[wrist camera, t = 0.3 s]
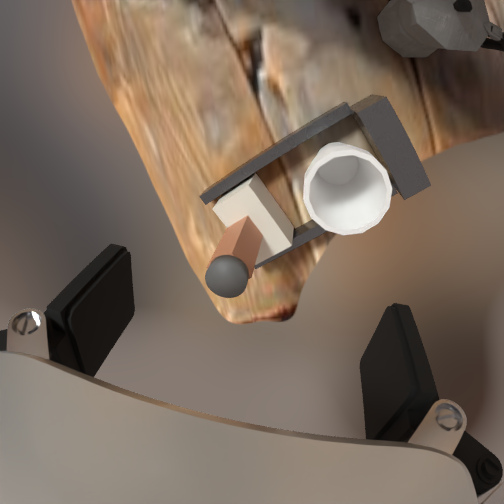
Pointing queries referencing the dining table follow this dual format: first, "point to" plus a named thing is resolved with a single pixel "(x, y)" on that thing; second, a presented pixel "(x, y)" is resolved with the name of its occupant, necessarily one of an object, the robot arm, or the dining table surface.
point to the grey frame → (379, 137)
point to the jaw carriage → (246, 236)
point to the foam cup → (346, 189)
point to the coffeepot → (438, 26)
